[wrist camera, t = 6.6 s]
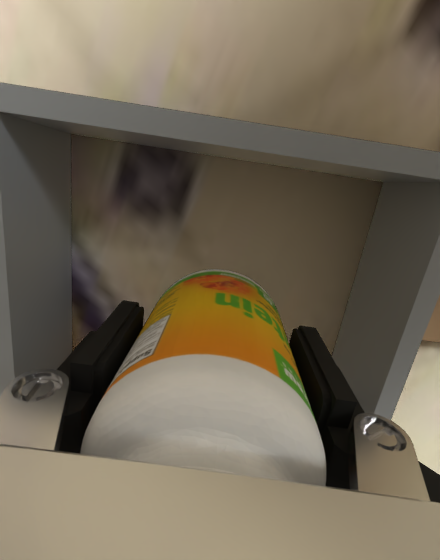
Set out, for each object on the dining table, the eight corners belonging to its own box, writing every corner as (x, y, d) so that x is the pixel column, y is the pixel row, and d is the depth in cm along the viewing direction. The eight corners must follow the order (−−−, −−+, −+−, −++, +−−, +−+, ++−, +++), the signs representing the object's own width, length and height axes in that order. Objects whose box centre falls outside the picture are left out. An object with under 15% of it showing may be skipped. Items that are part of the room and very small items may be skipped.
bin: (404, 166, 15) (492, 160, 10) (319, 439, 20) (350, 522, 15) (53, 112, 14) (-35, 76, 9) (59, 407, 19) (5, 481, 14)
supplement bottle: (306, 319, 13) (494, 675, 4) (224, 398, 14) (215, 796, 5) (205, 238, 12) (125, 451, 3) (129, 333, 13) (-90, 678, 4)
